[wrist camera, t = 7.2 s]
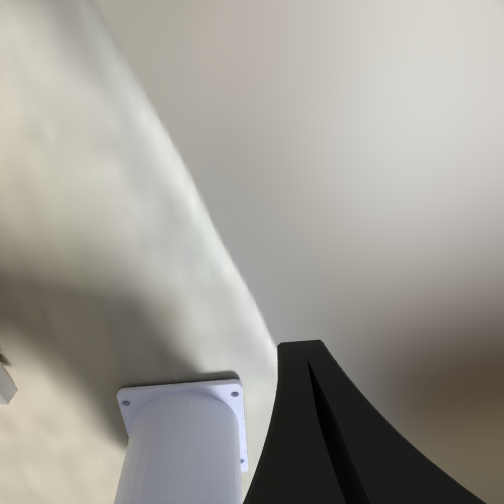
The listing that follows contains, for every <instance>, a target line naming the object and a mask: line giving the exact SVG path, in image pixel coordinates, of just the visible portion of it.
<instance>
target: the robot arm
mask: <svg viewBox="0 0 504 504" xmlns="http://www.w3.org/2000/svg"><path fill="white" fill-rule="evenodd" d="M277 356H278V383H277V390H276V397H275V402H274V407H273V412H272V416H271V421H270V425H269V429H268V433H267V436H266V440H265V443H264V447H263V450H262V453H261V456H260V459H259V462H258V465H257V468H256V471H255V474H254V477H253V480H252V482H251V485H250V488H249V490H248V493H247V495H246V497H245V500H244V502H243V504H486V503H485V502H483V501H482V500H481V499H479V498H478V497H476V496H475V495H474V494H472V493H471V492H469V491H468V490H467V489H465V488H464V487H463V486H461V485H460V484H459V483H457V482H456V481H455V480H454V479H453V478H451V477H450V476H449V475H448V474H446V473H445V472H444V471H443V470H441V469H440V468H439V467H437V466H436V465H435V464H434V463H432V462H431V461H430V460H429V459H428V458H427V457H425V456H424V455H423V454H422V453H421V452H420V451H419V450H417V449H416V448H415V447H414V446H413V445H412V444H411V443H409V442H408V441H407V440H406V439H405V438H404V437H403V436H402V435H401V434H400V433H399V432H398V431H397V430H396V429H395V428H394V427H393V426H392V425H391V424H390V423H389V422H388V421H386V419H385V418H384V417H383V416H382V415H381V414H380V413H379V412H378V411H377V410H376V409H375V408H374V407H373V406H372V404H371V403H370V402H369V401H368V400H367V399H366V398H365V397H364V395H363V394H362V393H361V392H360V391H359V390H358V388H357V387H356V386H355V385H354V384H353V382H352V381H351V380H350V379H349V377H348V376H347V375H346V374H345V372H344V371H343V370H342V368H341V367H340V366H339V365H338V363H337V362H336V360H335V359H334V358H333V356H332V355H331V354H330V352H329V351H328V349H327V348H326V346H325V345H324V343H323V342H322V341H321V340H310V341H297V342H284V343H280V344H279V345H278V346H277ZM234 391H235V392H234ZM117 400H118V404H119V407H120V410H121V414H122V417H123V420H124V424H125V427H126V430H127V434H128V437H129V442H128V446H127V450H126V454H125V459H124V463H123V467H122V471H121V475H120V480H119V484H118V488H117V492H116V496H115V501H114V504H242V483H241V473H244V472H246V471H247V470H248V459H247V445H246V432H245V419H244V406H243V392H242V383H241V381H240V380H237V379H229V380H217V381H204V382H192V383H180V384H168V385H155V386H143V387H131V388H122V389H120V390H119V391H118V393H117ZM125 400H126V401H125Z"/></svg>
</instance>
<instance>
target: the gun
mask: <svg viewBox="0 0 504 504" xmlns="http://www.w3.org/2000/svg"><path fill="white" fill-rule="evenodd" d="M1 352H2V349H1V347H0V353H1ZM17 391H18V389H17V387H16V385H15V384H14V382H13V380H12V378H11V376H10V374H9V373H8V371H7V370H6V368H5V367H4V366H3V364H2V363H1V362H0V404H9V402H10V401H11V399H12V398H13V396H14V395H15V393H16V392H17Z"/></svg>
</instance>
